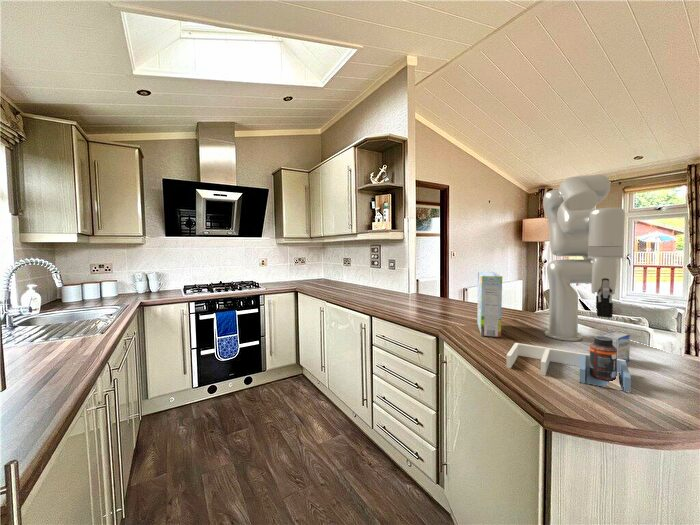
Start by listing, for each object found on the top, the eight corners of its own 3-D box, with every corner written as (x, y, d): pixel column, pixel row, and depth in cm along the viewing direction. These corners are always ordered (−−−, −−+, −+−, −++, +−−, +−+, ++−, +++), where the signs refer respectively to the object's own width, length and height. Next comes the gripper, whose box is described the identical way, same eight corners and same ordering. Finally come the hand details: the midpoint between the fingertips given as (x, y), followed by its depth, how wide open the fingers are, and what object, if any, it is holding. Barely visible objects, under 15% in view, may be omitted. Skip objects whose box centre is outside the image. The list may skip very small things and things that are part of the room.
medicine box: (618, 365, 94) (618, 338, 93) (600, 361, 98) (601, 335, 97) (629, 360, 98) (630, 334, 97) (612, 356, 102) (613, 331, 101)
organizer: (515, 353, 106) (515, 342, 106) (625, 373, 89) (625, 360, 88) (506, 367, 95) (506, 355, 95) (630, 393, 77) (630, 378, 77)
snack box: (503, 338, 124) (503, 276, 122) (480, 336, 127) (480, 275, 125) (496, 324, 144) (496, 271, 143) (476, 323, 147) (476, 271, 146)
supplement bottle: (622, 382, 83) (622, 341, 82) (597, 381, 84) (597, 341, 83) (608, 373, 88) (608, 335, 88) (585, 372, 90) (585, 334, 89)
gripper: (588, 251, 93) (586, 305, 94) (588, 254, 79) (586, 318, 81) (620, 250, 88) (618, 308, 90) (626, 254, 75) (624, 322, 76)
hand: (603, 313), depth 85 cm, fingers open, 9 cm apart
